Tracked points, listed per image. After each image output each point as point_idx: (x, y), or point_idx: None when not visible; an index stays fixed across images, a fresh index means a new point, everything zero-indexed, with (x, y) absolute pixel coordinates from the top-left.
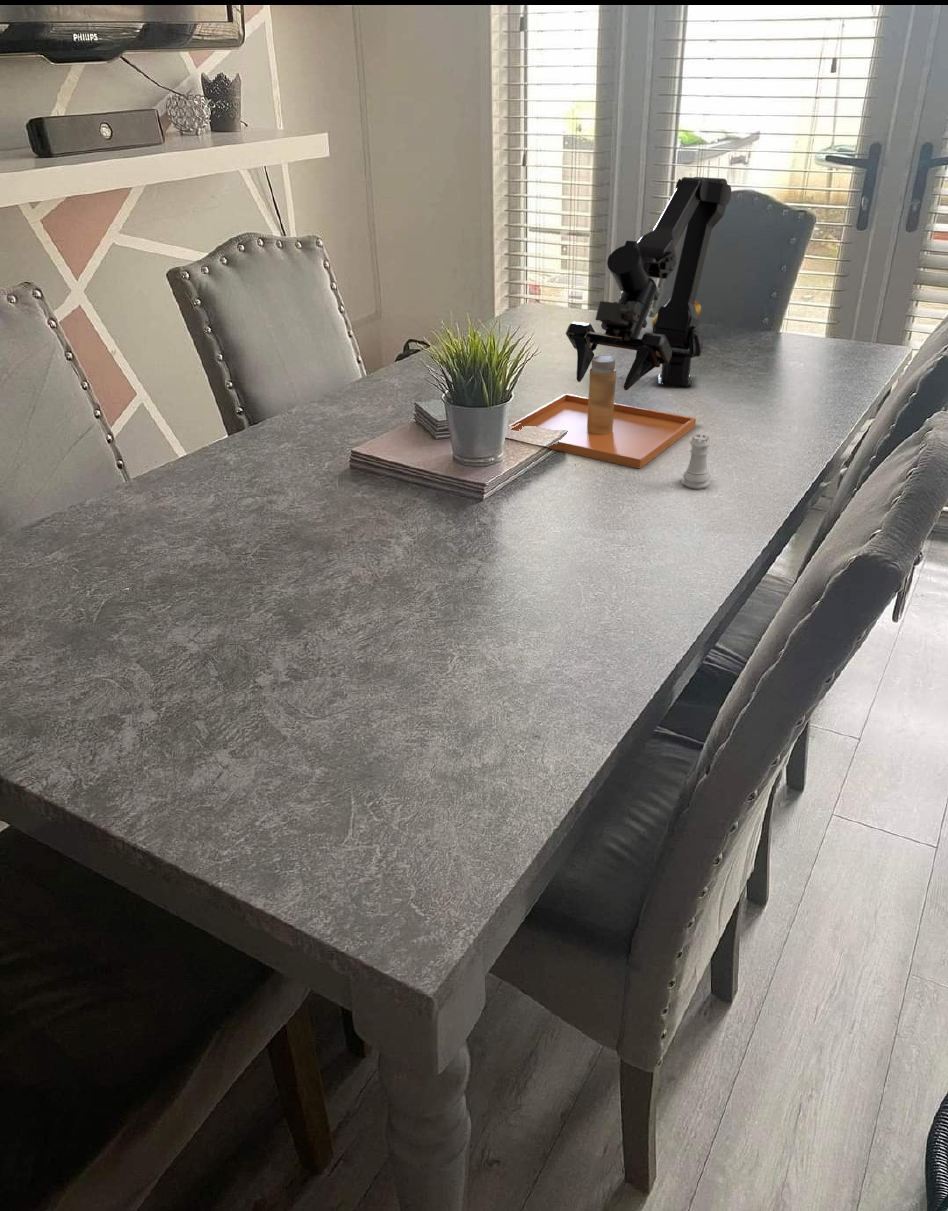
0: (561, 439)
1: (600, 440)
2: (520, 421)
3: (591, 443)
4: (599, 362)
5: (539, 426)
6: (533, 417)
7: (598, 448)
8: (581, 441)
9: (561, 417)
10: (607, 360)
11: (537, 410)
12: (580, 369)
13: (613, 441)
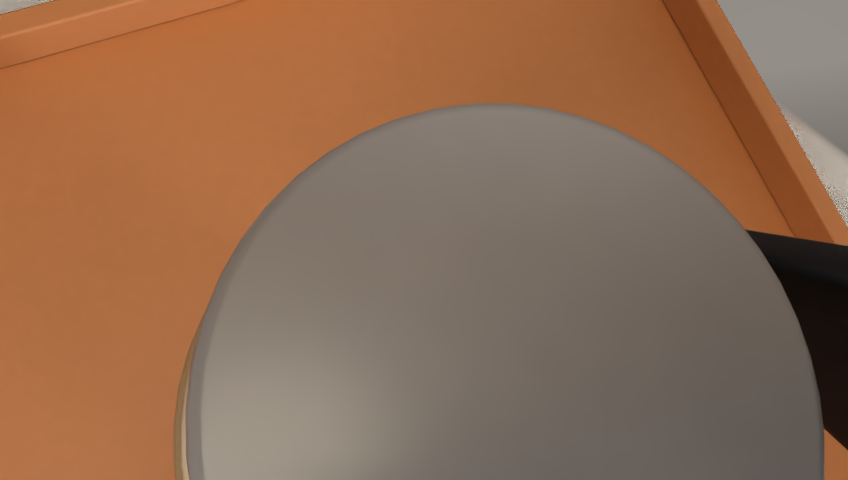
0: (351, 93)
1: (157, 300)
2: (702, 19)
3: (156, 208)
4: (364, 137)
5: (634, 134)
6: (774, 181)
7: (38, 182)
8: (236, 177)
9: None
10: (343, 393)
11: (830, 225)
12: (826, 273)
13: (69, 371)
